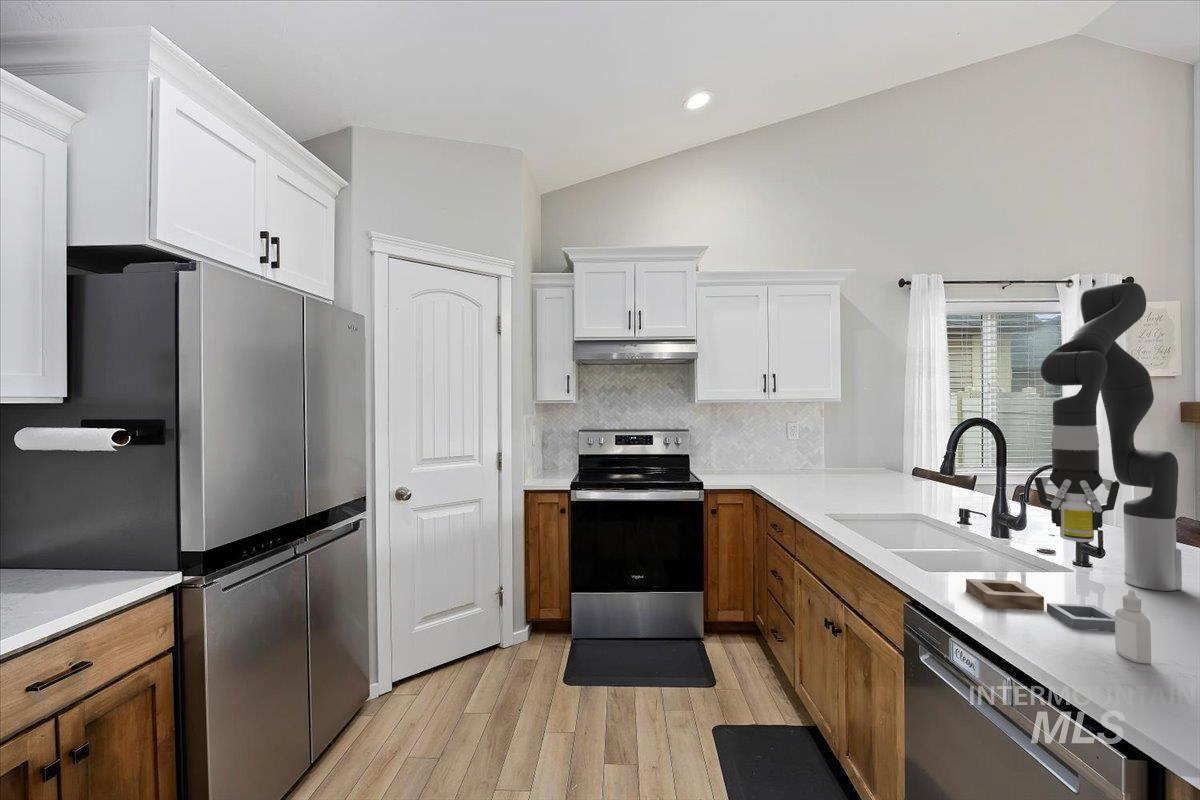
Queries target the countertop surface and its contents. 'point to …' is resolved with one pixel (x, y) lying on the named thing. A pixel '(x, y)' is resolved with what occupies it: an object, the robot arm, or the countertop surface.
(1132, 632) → the eye dropper bottle
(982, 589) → the socket block
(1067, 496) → the supplement bottle
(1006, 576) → the countertop surface
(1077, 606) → the holder
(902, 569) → the countertop surface
